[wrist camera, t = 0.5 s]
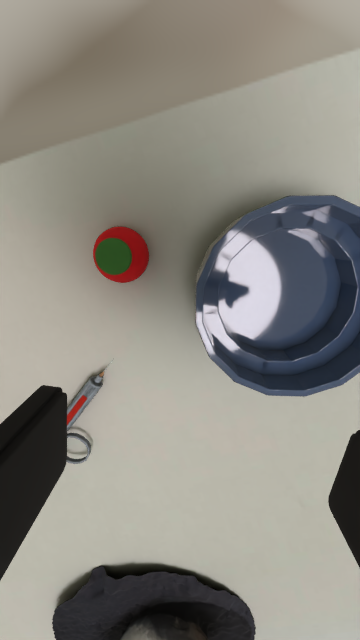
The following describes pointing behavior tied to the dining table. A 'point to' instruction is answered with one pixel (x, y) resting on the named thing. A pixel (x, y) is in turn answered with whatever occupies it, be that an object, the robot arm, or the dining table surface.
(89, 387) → the syringe
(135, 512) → the dining table surface
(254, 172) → the dining table surface
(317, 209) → the bowl
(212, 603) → the sculpture
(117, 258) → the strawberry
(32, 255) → the dining table surface
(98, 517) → the dining table surface
